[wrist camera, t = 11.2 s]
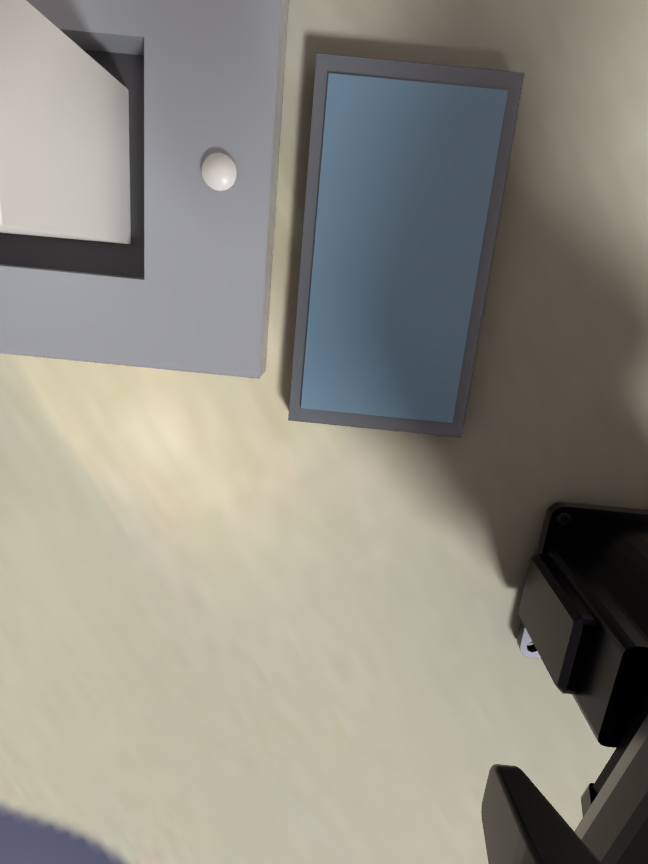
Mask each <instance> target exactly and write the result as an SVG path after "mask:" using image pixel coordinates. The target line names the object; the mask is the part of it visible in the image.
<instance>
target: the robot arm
mask: <svg viewBox="0 0 648 864" xmlns="http://www.w3.org/2000/svg"><path fill="white" fill-rule="evenodd" d="M561 513H567V516H566V517H565V519H563V520H561V521H557V517H558V516H559V515H560V514H561ZM518 614H519V617H520V618H521V620H522V621H521V625H520V629H519V634H518V638H517V643H518V645H519V648H520V650H521V652H522V653H523V654H524V655H525V656H527V657H531V658H541V659H542V660H543V662H544V664H545V666H546V668H547V670H548V672H549V674H550V676H551V678H552V680H553V681H554V683H555V685H556V686H557V688H558V689H559V690H560V691H561V692H562V693H564V694H572V695H573V697H574V699H575V700H576V702H577V704H578V706H579V708H580V709H581V711H582V713H583V715H584V717H585V718H586V720H587V722H588V724H589V726H590V727H591V729H592V731H593V733H594V735H595V737H596V738H597V740H598V742H599V743H600V744H601V745H603V746H607V747H616V750H615V752H614V753H613V755H612V756H611V758H610V760H609V761H608V763H607V764H606V766H605V768H604V769H603V771H602V772H601V774H600V776H599V777H598V779H597V780H596V782H595V784H594V783H590V784H589V785H588V787H587V789H586V790H585V792H584V793H583V795H582V797H581V803H582V812H583V819H582V820H581V822H580V823H579V825H578V827H577V828H576V830H575V832H574V831H573V830H572V829H571V827H570V826H569V825H568V824H567V823H566V822H565V820H564V819H563V818H562V817H561V816H560V815H559V813H558V812H557V811H556V810H555V809H554V807H553V806H552V805H551V804H550V803H549V802H548V800H547V799H546V798H545V797H544V796H543V795H542V793H541V792H540V791H539V790H538V789H537V787H536V786H535V785H534V784H533V783H532V782H531V780H530V779H529V778H528V777H527V776H526V775H525V773H524V772H523V771H522V770H521V769H519V768H518V767H516V766H509V765H499V764H495V765H493V766H492V767H491V768H490V771H489V775H488V779H487V784H486V788H485V792H484V797H483V801H482V823H483V829H484V836H485V842H486V849H487V855H488V862H489V864H648V511H647V510H637V509H627V508H617V507H607V506H597V505H586V504H576V503H566V502H558V503H555V504H553V505H552V506H550V507H549V508H548V510H547V513H546V516H545V521H544V525H543V529H542V534H541V538H540V542H539V547H538V551H537V553H536V554H535V555H534V556H533V557H532V558H531V559H530V562H529V566H528V571H527V575H526V580H525V584H524V589H523V593H522V597H521V602H520V606H519V611H518ZM532 641H533V643H534V644H533V645H529V646H528V643H530V642H532Z"/></svg>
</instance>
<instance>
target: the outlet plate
mask: <svg viewBox="0 0 648 864" xmlns="http://www.w3.org/2000/svg"><path fill="white" fill-rule="evenodd" d="M26 1H28V2H29V3H30V4H31V5H32V6H33V7H34V8H36V9H37V10H38V11H39V12H40V13H41V14H42V15H44V16H45V17H46V18H47V19H48V20H49V21H50V22H52V23H53V24H54V25H55V26H56V27H57V28H58V29H60V30H61V31H62V32H63V33H64V34H65V35H66V36H68V37H69V38H70V39H71V40H72V41H73V42H74V43H76V44H77V45H78V46H79V47H80V48H81V49H82V50H84V51H85V52H86V53H87V54H88V55H89V56H90V57H92V58H93V59H94V60H95V61H96V62H97V63H98V64H100V65H101V66H102V67H103V68H104V69H105V70H106V71H108V72H109V73H110V74H111V75H112V76H113V77H114V78H116V79H117V80H118V81H119V82H120V83H121V84H122V85H124V86H125V87H126V88H127V89H128V93H129V157H130V221H131V244H123V243H111V242H100V241H89V240H78V239H66V238H55V237H44V236H33V235H21V234H10V233H0V353H3V354H13V355H24V356H34V357H44V358H54V359H64V360H75V361H85V362H95V363H105V364H115V365H126V366H136V367H146V368H156V369H166V370H177V371H187V372H197V373H207V374H217V375H228V376H238V377H248V378H258V379H259V378H260V377H261V376H262V374H263V373H264V372H265V369H266V353H267V337H268V321H269V305H270V289H271V273H272V257H273V241H274V226H275V210H276V194H277V178H278V162H279V146H280V130H281V114H282V98H283V83H284V67H285V51H286V35H287V19H288V3H289V0H26Z"/></svg>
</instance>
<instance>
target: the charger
mask: <svg viewBox="0 0 648 864" xmlns="http://www.w3.org/2000/svg"><path fill="white" fill-rule="evenodd" d="M0 233H10V234H21V235H33V236H44V237H55V238H66V239H78V240H89V241H100V242H111V243H123V244H131V221H130V157H129V93H128V89H127V88H126V87H125V86H124V85H122V84H121V83H120V82H119V81H118V80H117V79H116V78H114V77H113V76H112V75H111V74H110V73H109V72H108V71H106V70H105V69H104V68H103V67H102V66H101V65H100V64H98V63H97V62H96V61H95V60H94V59H93V58H92V57H90V56H89V55H88V54H87V53H86V52H85V51H84V50H82V49H81V48H80V47H79V46H78V45H77V44H76V43H74V42H73V41H72V40H71V39H70V38H69V37H68V36H66V35H65V34H64V33H63V32H62V31H61V30H60V29H58V28H57V27H56V26H55V25H54V24H53V23H52V22H50V21H49V20H48V19H47V18H46V17H45V16H44V15H42V14H41V13H40V12H39V11H38V10H37V9H36V8H34V7H33V6H32V5H31V4H30V3H29V2H28V1H26V0H0Z"/></svg>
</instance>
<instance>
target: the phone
mask: <svg viewBox="0 0 648 864" xmlns="http://www.w3.org/2000/svg"><path fill="white" fill-rule="evenodd" d="M523 77H524V73H518V72H508V71H497V70H487V69H476V68H466V67H456V66H445V65H435V64H424V63H414V62H404V61H393V60H383V59H372V58H362V57H351V56H341V55H331V54H320V53H317V55H316V68H315V81H314V94H313V107H312V120H311V133H310V146H309V159H308V171H307V184H306V197H305V210H304V223H303V236H302V249H301V262H300V275H299V288H298V301H297V314H296V327H295V340H294V353H293V366H292V379H291V392H290V405H289V418H288V420H290V421H300V422H310V423H321V424H331V425H341V426H351V427H361V428H372V429H382V430H392V431H402V432H412V433H422V434H433V435H443V436H453V437H461V435H462V429H463V423H464V418H465V412H466V406H467V400H468V395H469V389H470V383H471V377H472V372H473V366H474V360H475V354H476V348H477V343H478V337H479V331H480V325H481V320H482V314H483V308H484V302H485V297H486V291H487V285H488V279H489V273H490V268H491V262H492V256H493V250H494V245H495V239H496V233H497V227H498V222H499V216H500V210H501V204H502V198H503V193H504V187H505V181H506V175H507V170H508V164H509V158H510V152H511V147H512V141H513V135H514V129H515V123H516V118H517V112H518V106H519V100H520V95H521V89H522V83H523Z"/></svg>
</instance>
